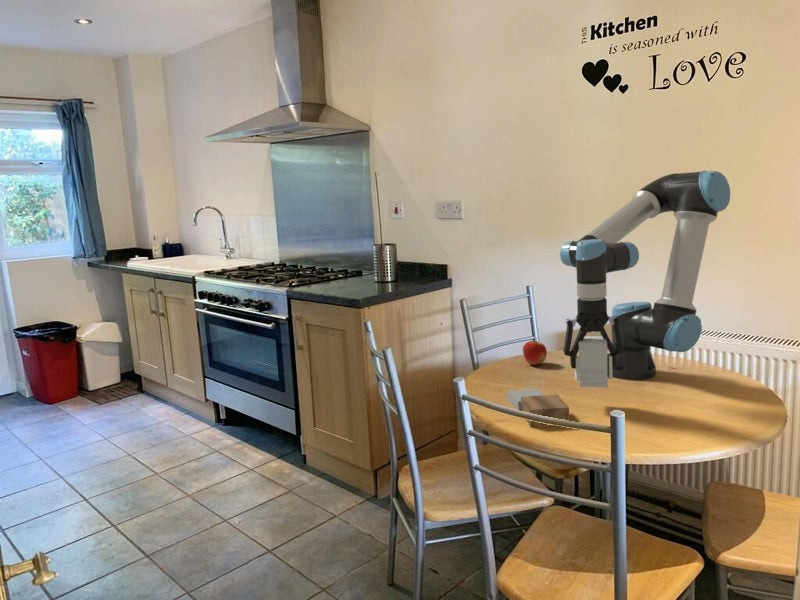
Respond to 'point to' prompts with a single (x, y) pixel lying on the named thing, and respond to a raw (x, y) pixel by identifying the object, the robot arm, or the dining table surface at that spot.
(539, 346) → the apple
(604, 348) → the supplement box
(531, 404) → the walnut block
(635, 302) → the robot arm
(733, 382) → the dining table surface
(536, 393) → the slate coaster
